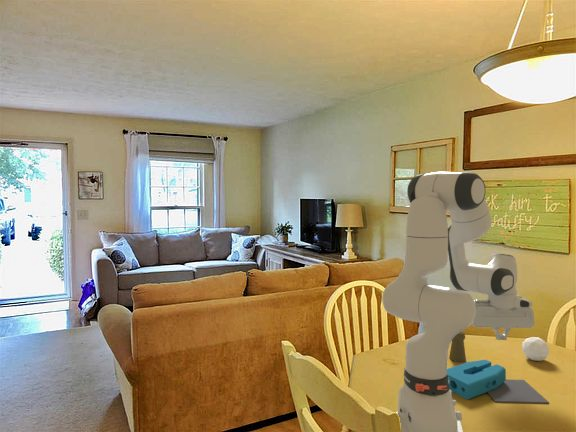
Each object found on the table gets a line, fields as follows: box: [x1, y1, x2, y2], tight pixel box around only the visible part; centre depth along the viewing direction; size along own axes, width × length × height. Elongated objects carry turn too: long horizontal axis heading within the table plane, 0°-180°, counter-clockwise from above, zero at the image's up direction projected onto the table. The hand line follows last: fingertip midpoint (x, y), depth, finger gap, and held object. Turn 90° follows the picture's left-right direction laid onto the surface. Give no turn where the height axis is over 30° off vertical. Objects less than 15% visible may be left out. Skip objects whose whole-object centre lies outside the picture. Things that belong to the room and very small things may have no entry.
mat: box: [486, 378, 550, 404], centre depth 131 cm, size 15×16×1 cm
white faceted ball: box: [521, 336, 550, 362], centre depth 157 cm, size 9×9×12 cm
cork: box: [448, 330, 467, 363], centre depth 157 cm, size 6×6×11 cm
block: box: [447, 359, 507, 400], centre depth 135 cm, size 12×5×20 cm
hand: (501, 339), depth 139 cm, fingers closed
